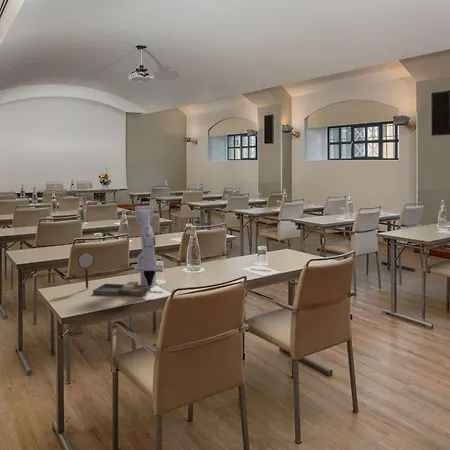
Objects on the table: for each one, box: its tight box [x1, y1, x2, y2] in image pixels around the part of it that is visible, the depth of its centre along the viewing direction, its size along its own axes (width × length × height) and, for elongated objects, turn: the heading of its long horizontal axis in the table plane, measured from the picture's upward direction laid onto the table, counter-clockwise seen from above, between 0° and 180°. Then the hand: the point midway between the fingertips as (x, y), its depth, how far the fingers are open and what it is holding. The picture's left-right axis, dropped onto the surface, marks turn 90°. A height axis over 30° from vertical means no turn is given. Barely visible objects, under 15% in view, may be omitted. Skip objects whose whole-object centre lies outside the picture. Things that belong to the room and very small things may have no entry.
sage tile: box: [122, 283, 134, 291], centre depth 249 cm, size 4×4×2 cm
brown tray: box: [117, 284, 151, 298], centre depth 252 cm, size 12×13×2 cm
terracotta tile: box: [126, 281, 139, 288], centre depth 255 cm, size 4×4×2 cm
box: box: [92, 283, 125, 297], centre depth 255 cm, size 14×13×2 cm
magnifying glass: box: [77, 251, 95, 290], centre depth 258 cm, size 9×2×20 cm, turn 126°
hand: (149, 285), depth 253 cm, fingers closed
